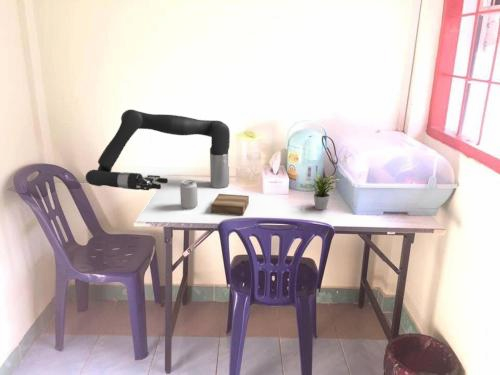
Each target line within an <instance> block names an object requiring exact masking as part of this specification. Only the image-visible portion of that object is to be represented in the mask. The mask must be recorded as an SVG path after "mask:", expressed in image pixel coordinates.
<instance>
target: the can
mask: <svg viewBox="0 0 500 375" xmlns="http://www.w3.org/2000/svg"><path fill="white" fill-rule="evenodd" d="M179 188H180V190H179V191H180V206H181V207H182V209H185V210H192V209H193V210H194V209H195V208H196V207H198V204H199V203H198V184H197V183H196V181H195V180H193V179H185V180H182V181H181V183H180V184H179Z"/></svg>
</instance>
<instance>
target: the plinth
mask: <svg viewBox="0 0 500 375" xmlns="http://www.w3.org/2000/svg"><path fill="white" fill-rule="evenodd" d="M249 196H250V195H242V194H226V193H218V195H217V196H216V198H214V200H213V201H212V202H211V204H210V206H211V207H210V208H211V211H210V212H211V213H210V214H219V215H221V214H222V215H234V216H243V215H244V214H245V212H246V210H247V208H248V206H249V199H250V198H249Z"/></svg>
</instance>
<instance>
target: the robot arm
mask: <svg viewBox="0 0 500 375" xmlns="http://www.w3.org/2000/svg"><path fill="white" fill-rule="evenodd" d="M120 120H121V123H120V125H119V128H118V129H117V131H116V133H115V134H114V136H113V137H112V139H111V140H110V141H109V143H108V144H107V146H106V147H105V149H104V150H103V152H102V153H101V155H100V156H99V157H98V161H97V163H98V167H97V169H91V170H88V172H86V174H85V181H86V182H87V183H88V184H89V185H91V186H95V187H103V186H107V187H111V188H118V189H119V188H121V189H126V190H134V191H135V190H136V191H139V190H142V191H150V190H152V189H153V190H161V189H162V184H168V183H169V180H168V178H165V177H161V176H160V175H152V174H148V175H147V176H143V175H142V173H139V172H128V171H127V172H125V171H124V172H123V171H121V172H119V171H112V169H113V167H114V166H115V163H116V162H117V161H118V159H119V157H120V155H121V153H122V151H123V150H124V149H125V147H126V145H127V143H128V142H129V141H130V139H131V138H132V137H133V135H134V134H135V133H136V132H137V131H138V130H140V129H141V130H142V129H143V130H153V131H155V132H160V133H162V134H163V133H164V134H167V135H168V134H169V135H175V136H192V135H201V136H205V137H209V138H210V137H211V142H210V143H211V147H210V148H209V171H210V178H209V179H210V186H211V187H212V188H214V189H225V188H228V186H229V185H230V166H229V149H230V142H231V141H230V140H231V139H230V137H231V136H230V135H231V134H230V128H229V126H228V125H227V124H226V123H224V121H221V120H207V119H203V120H202V119H197V118H192V117H188V116H182V115H176V114H164V113H163V114H157V113H156V114H154V113H147V112H142V111H138V110H135V109H127V110H125V111H123V113H122V114H121V117H120Z"/></svg>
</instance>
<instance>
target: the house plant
mask: <svg viewBox="0 0 500 375" xmlns="http://www.w3.org/2000/svg"><path fill="white" fill-rule="evenodd" d="M332 177H333V175H330V174H327V176H326V177H325V179H324V178H323V174H322V172H321V173H317V180H316V178H314V177H313V176H311V179H313V180H312V182H314V184H315V185H316V186H315V185H313V184H309V185H308V187H311V188H313V189H314V190H315V191H314V193H313V200H314V208H315V209H316V210H322V211H323V210H327V207H328V204H329V200H330V194H329V193H328V192H331V193H332V194H333V193H334V191H333V190H335V189H336V188H335V187H337V185H334V186H333V185H332V184H335V183H336V184H337V183H339V182H338V180H340V178H337V179H333V180H331V178H332Z"/></svg>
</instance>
